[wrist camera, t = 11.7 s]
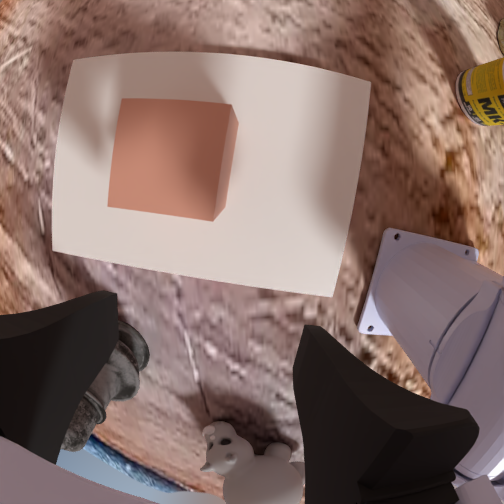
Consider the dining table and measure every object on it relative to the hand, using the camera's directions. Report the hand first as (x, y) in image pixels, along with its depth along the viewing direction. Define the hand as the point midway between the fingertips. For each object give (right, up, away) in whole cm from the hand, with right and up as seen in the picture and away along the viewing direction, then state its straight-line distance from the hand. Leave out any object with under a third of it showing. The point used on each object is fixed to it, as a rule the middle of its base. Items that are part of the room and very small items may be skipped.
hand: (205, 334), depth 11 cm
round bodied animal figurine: (+2, -16, +14) cm, 21 cm away
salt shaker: (-9, -5, +11) cm, 15 cm away
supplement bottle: (+19, +15, +5) cm, 25 cm away
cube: (-2, +8, +6) cm, 10 cm away
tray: (-2, +9, +7) cm, 12 cm away
